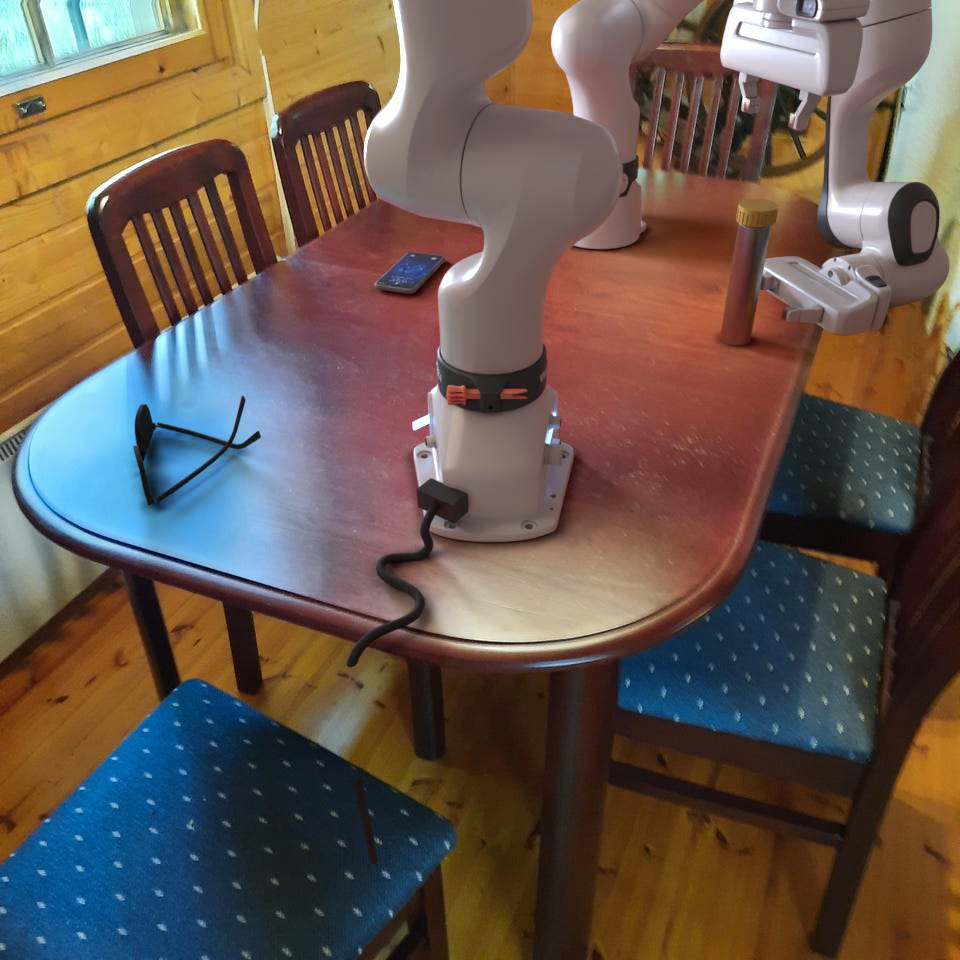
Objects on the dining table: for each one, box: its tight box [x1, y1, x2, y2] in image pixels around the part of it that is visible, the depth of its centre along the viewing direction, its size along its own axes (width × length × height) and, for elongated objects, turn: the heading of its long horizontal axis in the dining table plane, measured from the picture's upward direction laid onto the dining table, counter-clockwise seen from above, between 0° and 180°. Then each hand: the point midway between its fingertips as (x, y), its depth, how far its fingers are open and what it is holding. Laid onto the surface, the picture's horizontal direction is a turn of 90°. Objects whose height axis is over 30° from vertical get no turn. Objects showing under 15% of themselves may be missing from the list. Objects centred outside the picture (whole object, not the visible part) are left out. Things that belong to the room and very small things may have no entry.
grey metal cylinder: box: [719, 223, 772, 347], centre depth 117 cm, size 4×4×19 cm
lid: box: [735, 198, 779, 228], centre depth 112 cm, size 5×5×2 cm
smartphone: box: [373, 251, 446, 295], centre depth 143 cm, size 7×1×15 cm
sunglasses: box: [132, 395, 262, 506], centre depth 100 cm, size 17×14×5 cm
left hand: (772, 120), depth 105 cm, fingers open, 8 cm apart
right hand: (765, 302), depth 121 cm, fingers open, 8 cm apart
